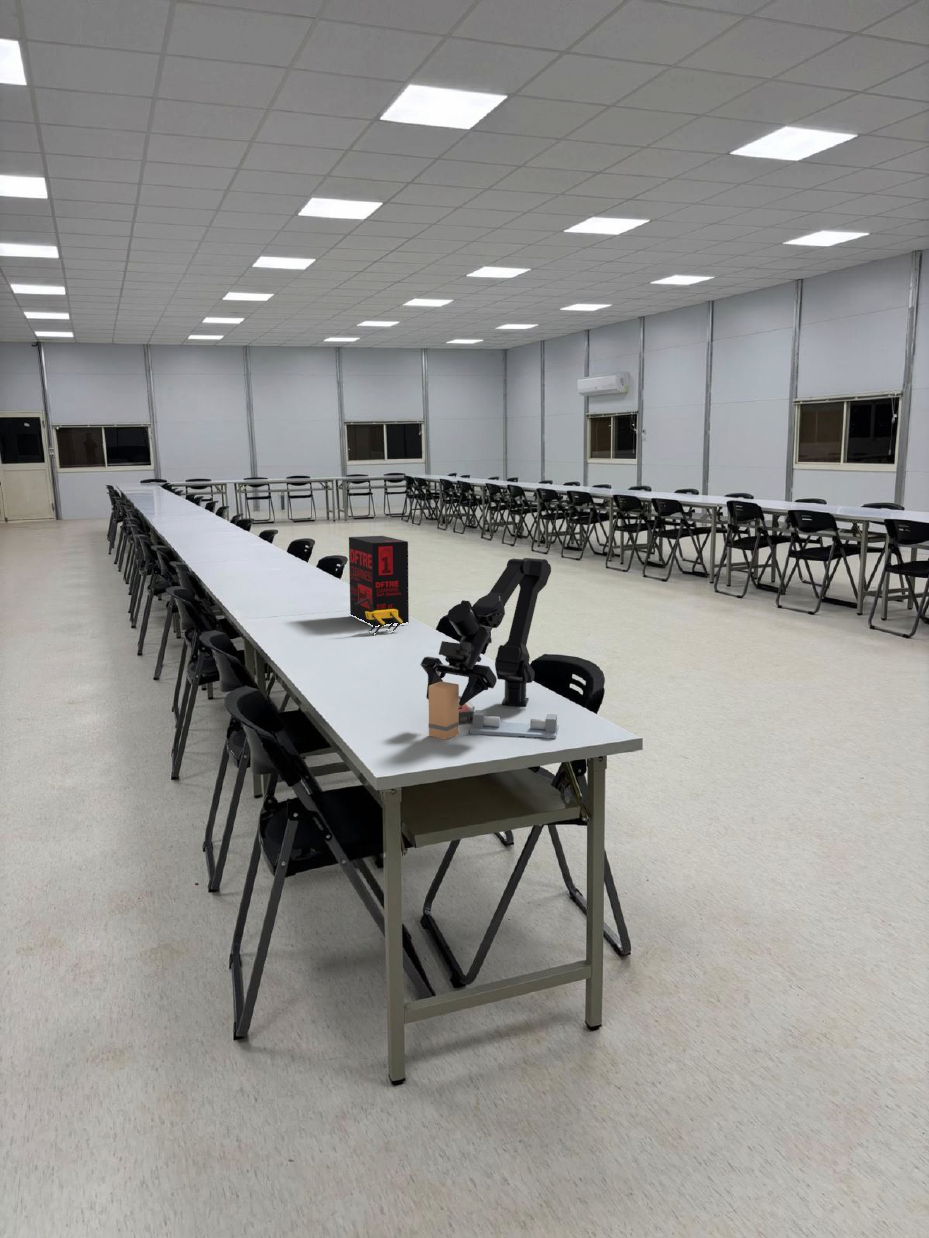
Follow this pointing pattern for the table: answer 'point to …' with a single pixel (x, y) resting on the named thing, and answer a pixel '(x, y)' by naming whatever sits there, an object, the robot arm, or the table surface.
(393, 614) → the robot dog
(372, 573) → the product box
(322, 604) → the table surface
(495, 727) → the grey holder base
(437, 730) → the tan rectangular block
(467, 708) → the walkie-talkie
